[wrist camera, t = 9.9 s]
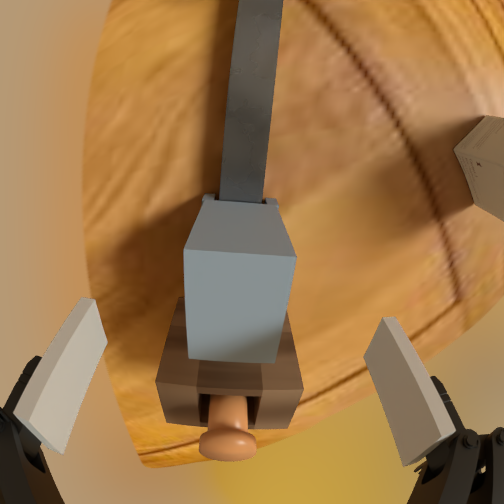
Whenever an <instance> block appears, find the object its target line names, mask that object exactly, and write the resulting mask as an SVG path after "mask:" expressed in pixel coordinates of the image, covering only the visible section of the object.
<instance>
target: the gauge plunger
mask: <svg viewBox="0 0 504 504" xmlns="http://www.w3.org/2000/svg"><path fill="white" fill-rule="evenodd" d="M199 452H200V453H201V454H202V455H203V456H205V457H207V458H210V459H213V460H219V461H241V460H246V459H249V458H252V457H253V456H254V455H255V454H256V439H255V437H254V436H253V435H252V434H250V433H248V417H247V396H232V395H215V394H210V405H209V419H208V431H207V432H205V433H203V434H202V435H201V436H200V443H199Z"/></svg>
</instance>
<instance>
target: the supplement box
mask: <svg viewBox="0 0 504 504" xmlns="http://www.w3.org/2000/svg"><path fill="white" fill-rule="evenodd" d="M453 150H454V153H455V154H456V156H457V158H458V160H459V163H460V165H461V167H462V169H463V172H464V174H465V177H466V180H467V182H468V185H469V188H470V191H471V194H472V197H473V200H474V204H475V205H476V206H478V207H480V208H482V209H483V210H485V211H487V212H489V213H490V214H492V215H494V216H495V217H497V218H499V219H500V220H502V221H504V118H500V117H495V116H489V115H486V116H485V117H484V118H483V119H482V120H481V121H480V122H479V123H478V124H477V125H476V126H475V127H474V128H473V130H472V131H471V132H469V133H468V135H467V136H466V137H465V138H464V139H463V140H462V141H461V142H460V143H458V145H457V146H456V147H455V148H454V149H453Z"/></svg>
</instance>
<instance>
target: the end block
mask: <svg viewBox="0 0 504 504" xmlns="http://www.w3.org/2000/svg"><path fill="white" fill-rule="evenodd" d="M155 382H156V386H157V390H158V394H159V398H160V402H161V405H162V409H163V412H164V416H165V419H166V422H167V423H173V424H181V425H189V426H199V427H208V419H209V405H210V394H215V395H232V396H247V417H248V429H287V428H288V426H289V424H290V422H291V419H292V417H293V415H294V412H295V410H296V407H297V405H298V403H299V400H300V398H301V395H302V393H303V390H304V387H303V383H302V378H301V373H300V368H299V364H298V359H297V354H296V350H295V345H294V341H293V336H292V332H291V327H290V323H289V318H288V314H287V310H286V314H285V319H284V324H283V329H282V333H281V338H280V342H279V347H278V351H277V356H276V360H275V363H244V362H224V361H210V360H198V359H189V356H188V343H187V329H186V311H185V298H180V297H179V298H178V302H177V305H176V308H175V312H174V315H173V319H172V322H171V325H170V329H169V332H168V336H167V339H166V343H165V347H164V350H163V354H162V358H161V361H160V365H159V369H158V373H157V377H156V381H155Z"/></svg>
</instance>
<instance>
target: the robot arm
mask: <svg viewBox="0 0 504 504" xmlns="http://www.w3.org/2000/svg"><path fill="white" fill-rule="evenodd" d="M107 343H108V342H107V338H106V335H105V332H104V329H103V326H102V322H101V319H100V315H99V312H98V308H97V305H96V301H95V299H91V298H84V297H81V299H80V300H79V301H78V303H77V304H76V306H75V307H74V308H73V310H72V311H71V313H70V314H69V316H68V317H67V319H66V320H65V322H64V323H63V325H62V327H61V328H60V329H59V331H58V333H57V334H56V336H55V337H54V339H53V341H52V342H51V344H50V346H49V347H48V349H47V350H46V352H45V354H44V355H43V357H40V356H35V357H34V358H33V359H32V360H30V361H29V362H28V363H27V365H26V367H25V368H24V370H23V374H21V375H20V377H19V379H18V382H17V383H16V385H15V386H14V388H13V390H12V392H11V394H10V396H9V398H8V400H7V402H6V404H5V406H4V407H3V409H2V408H1V407H0V504H65V503H64V501H63V499H62V498H61V495H60V493H59V491H58V489H57V487H56V484H55V482H54V480H53V477H52V475H51V473H50V470H49V468H48V465H47V463H46V460H45V457H44V454H43V452H42V450H41V448H40V445H41V442H42V443H43V444H44V445H45V446H46V447H47V448H48V449H51V450H53V451H55V452H57V453H60V454H62V455H63V454H64V451H65V448H66V445H67V442H68V439H69V436H70V433H71V430H72V427H73V425H74V422H75V419H76V417H77V414H78V411H79V409H80V406H81V403H82V400H83V398H84V396H85V393H86V391H87V388H88V386H89V384H90V381H91V379H92V376H93V374H94V372H95V369H96V367H97V365H98V363H99V360H100V358H101V356H102V354H103V352H104V349H105V347H106V345H107ZM364 360H365V362H366V364H367V367H368V369H369V372H370V375H371V377H372V380H373V382H374V385H375V387H376V390H377V393H378V395H379V398H380V400H381V403H382V406H383V409H384V411H385V414H386V417H387V419H388V423H389V425H390V428H391V431H392V434H393V437H394V440H395V443H396V446H397V449H398V452H399V455H400V458H401V461H402V464H403V467H404V466H408V465H411V464H413V463H416V462H418V461H420V460H421V459H422V458H424V457H425V456H426V459H427V460H426V461H425V462H424V463H422V464H421V465H420V466H418V467H417V468H416V469H415V470H414V472H417V471H419V470H420V469H421V468H422V469H421V471H420V472H419V474H420V475H419V477H418V480H417V482H416V484H415V487H414V489H413V491H412V494H411V496H410V498H409V500H408V502H407V504H504V428H502V427H498V428H496V429H495V430H494V431H493V432H492V433H491V434H485V435H478V434H477V433H476V432H475V431H473V430H471V429H465V428H464V426H463V424H462V421H461V419H460V417H459V415H458V413H457V411H456V409H455V407H454V405H453V403H452V402H451V401H450V400H451V399H450V397H449V395H448V394H447V391H446V390H445V388H444V386H443V384H442V383H441V382H440V381H439V380H438V379H437V378H436V377H435V376H431V377H430V376H429V374H428V373H427V371H426V369H425V367H424V365H423V363H422V362H421V360H420V358H419V356H418V354H417V353H416V351H415V349H414V347H413V346H412V344H411V342H410V340H409V339H408V337H407V335H406V334H405V332H404V330H403V329H402V327H401V325H400V324H399V322H398V320H397V319H396V317H382V319H381V322H380V324H379V326H378V328H377V330H376V332H375V335H374V337H373V339H372V341H371V343H370V345H369V347H368V349H367V351H366V353H365V355H364ZM484 466H486V471H485V472H484V473H482V472H481V468H483V467H484Z"/></svg>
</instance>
